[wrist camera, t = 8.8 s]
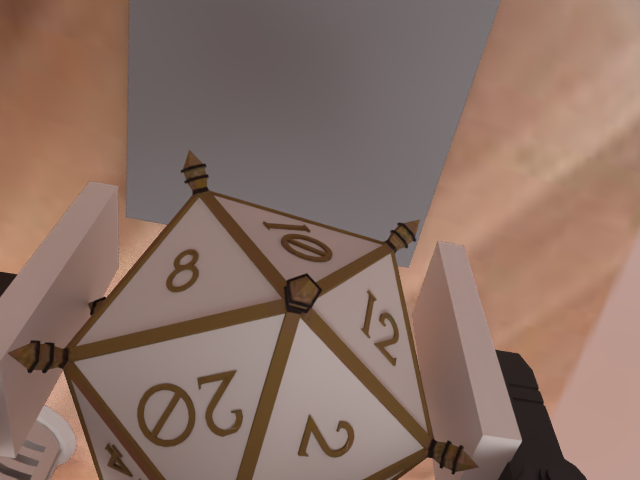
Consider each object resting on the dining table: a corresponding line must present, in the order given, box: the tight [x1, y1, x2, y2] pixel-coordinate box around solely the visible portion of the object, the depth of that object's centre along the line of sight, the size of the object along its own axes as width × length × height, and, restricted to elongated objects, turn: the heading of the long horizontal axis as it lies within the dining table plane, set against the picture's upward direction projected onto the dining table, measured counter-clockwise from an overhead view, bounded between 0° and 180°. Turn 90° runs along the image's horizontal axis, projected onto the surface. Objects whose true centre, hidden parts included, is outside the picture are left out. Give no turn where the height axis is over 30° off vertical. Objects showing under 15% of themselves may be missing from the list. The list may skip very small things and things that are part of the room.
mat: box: [126, 0, 501, 268], centre depth 33 cm, size 18×18×1 cm
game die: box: [8, 150, 479, 480], centre depth 13 cm, size 9×8×10 cm
